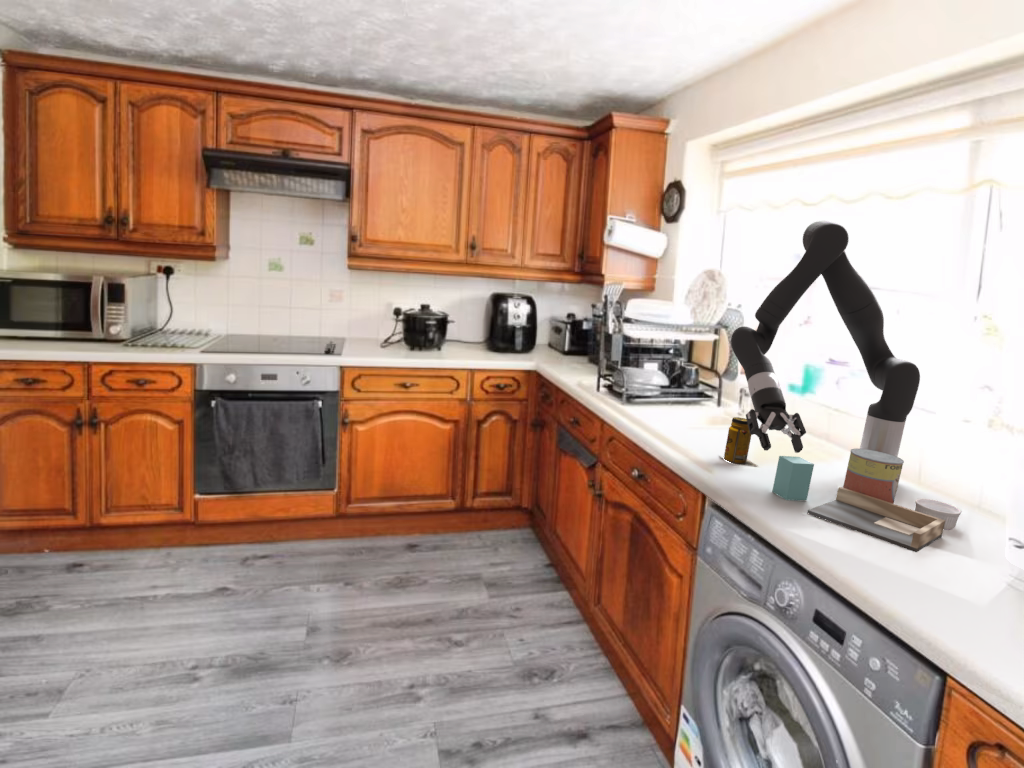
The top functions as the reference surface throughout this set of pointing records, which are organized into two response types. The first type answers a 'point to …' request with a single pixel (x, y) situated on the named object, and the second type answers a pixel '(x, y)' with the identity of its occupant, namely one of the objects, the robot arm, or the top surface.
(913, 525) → the tray
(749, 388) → the robot arm
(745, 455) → the condiment
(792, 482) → the block
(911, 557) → the top surface
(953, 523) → the ramekin
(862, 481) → the canned food
